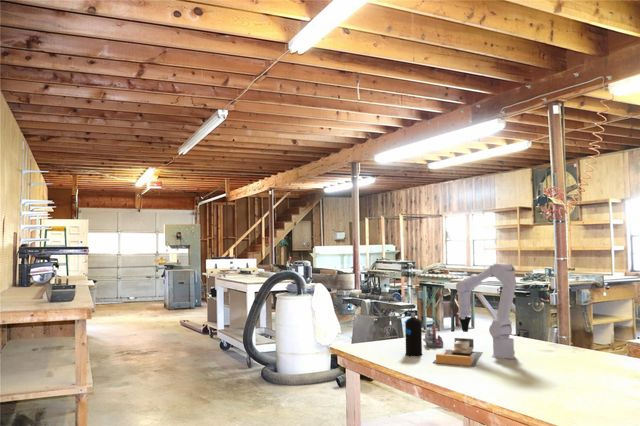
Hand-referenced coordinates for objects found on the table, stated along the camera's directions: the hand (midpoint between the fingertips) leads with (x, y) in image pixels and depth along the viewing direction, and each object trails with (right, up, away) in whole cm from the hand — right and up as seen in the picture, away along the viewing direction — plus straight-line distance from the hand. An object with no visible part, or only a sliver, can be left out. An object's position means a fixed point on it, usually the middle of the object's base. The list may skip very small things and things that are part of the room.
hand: (465, 331), depth 254 cm
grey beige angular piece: (-5, -8, -11) cm, 14 cm away
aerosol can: (-29, -8, -13) cm, 32 cm away
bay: (-9, -8, -20) cm, 23 cm away
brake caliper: (-15, -10, +7) cm, 19 cm away
